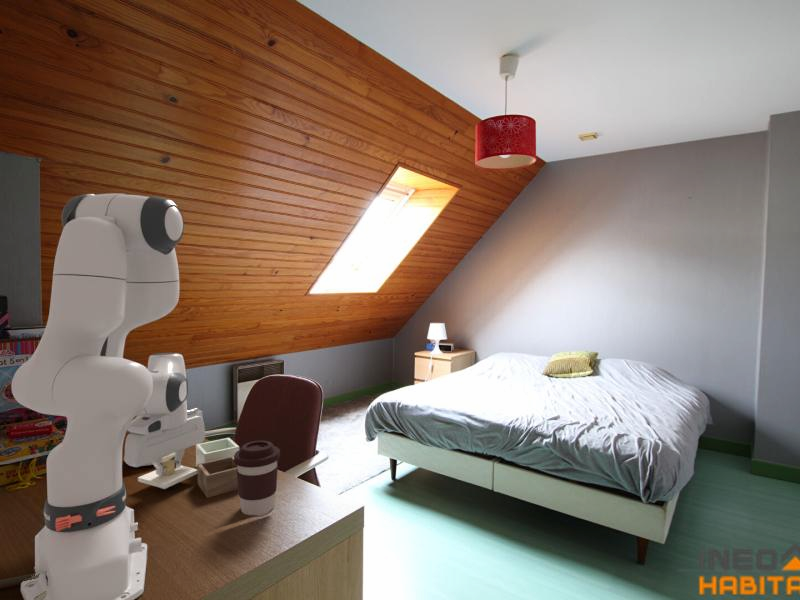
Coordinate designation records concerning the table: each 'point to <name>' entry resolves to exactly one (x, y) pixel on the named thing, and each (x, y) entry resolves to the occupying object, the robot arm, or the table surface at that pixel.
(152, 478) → the lid
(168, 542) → the table surface
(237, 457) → the coffee cup
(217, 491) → the box
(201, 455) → the planter
